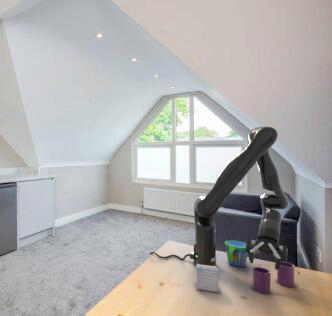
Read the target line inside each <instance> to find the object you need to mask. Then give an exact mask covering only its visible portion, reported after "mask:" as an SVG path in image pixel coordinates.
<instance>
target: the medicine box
mask: <svg viewBox="0 0 332 316" xmlns="http://www.w3.org/2000/svg"><path fill="white" fill-rule="evenodd" d="M195 274H196V276H195V283H196V284H195V285H196V289H197V290H199V291H208V292H213V293H219V270H218V267H217V265H216V266H208V265H199V264H195Z"/></svg>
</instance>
